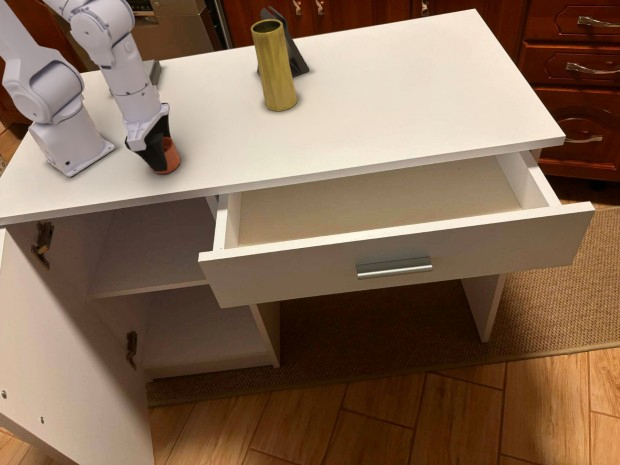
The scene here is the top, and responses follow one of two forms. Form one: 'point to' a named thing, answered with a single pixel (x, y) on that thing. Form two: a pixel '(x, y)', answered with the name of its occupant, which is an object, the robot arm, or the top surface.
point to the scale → (152, 71)
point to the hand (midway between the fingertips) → (163, 159)
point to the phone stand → (287, 45)
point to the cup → (170, 155)
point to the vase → (274, 65)
